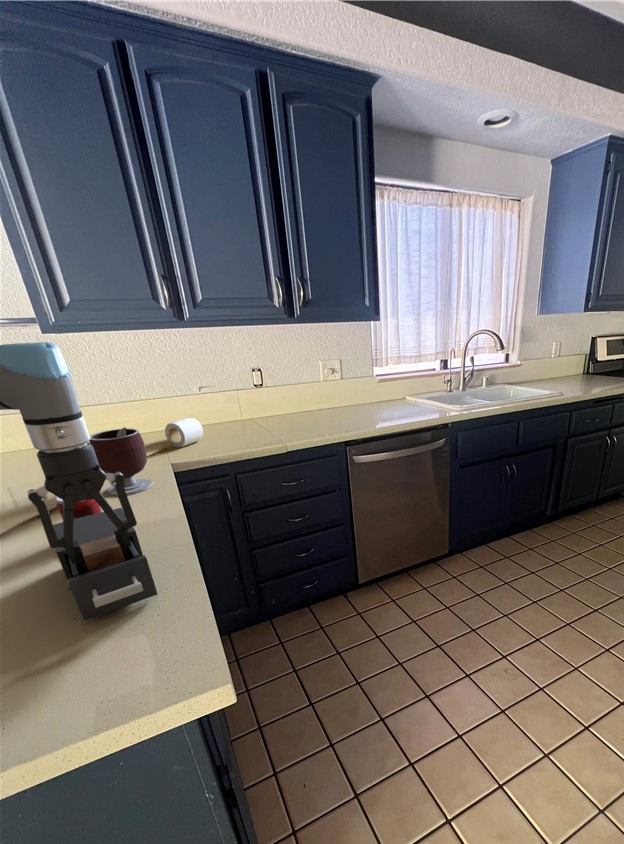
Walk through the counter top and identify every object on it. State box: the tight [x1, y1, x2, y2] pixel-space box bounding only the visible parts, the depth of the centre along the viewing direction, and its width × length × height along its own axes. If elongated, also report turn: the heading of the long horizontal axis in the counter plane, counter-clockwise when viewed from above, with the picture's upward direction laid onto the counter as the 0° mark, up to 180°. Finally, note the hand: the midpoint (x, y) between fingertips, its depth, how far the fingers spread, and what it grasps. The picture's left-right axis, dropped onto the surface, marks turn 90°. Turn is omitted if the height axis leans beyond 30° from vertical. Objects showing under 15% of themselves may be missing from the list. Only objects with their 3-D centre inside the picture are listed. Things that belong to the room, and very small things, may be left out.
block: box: [80, 535, 125, 573], centre depth 77 cm, size 6×6×6 cm
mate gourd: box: [88, 426, 153, 496], centre depth 128 cm, size 16×14×20 cm
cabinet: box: [53, 507, 144, 581], centre depth 87 cm, size 15×13×10 cm
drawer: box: [67, 542, 158, 622], centre depth 77 cm, size 18×12×8 cm, turn 39°
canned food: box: [55, 496, 103, 520], centre depth 100 cm, size 8×8×11 cm
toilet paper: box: [164, 417, 204, 449], centre depth 175 cm, size 10×10×10 cm
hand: (107, 569), depth 78 cm, fingers open, 6 cm apart
